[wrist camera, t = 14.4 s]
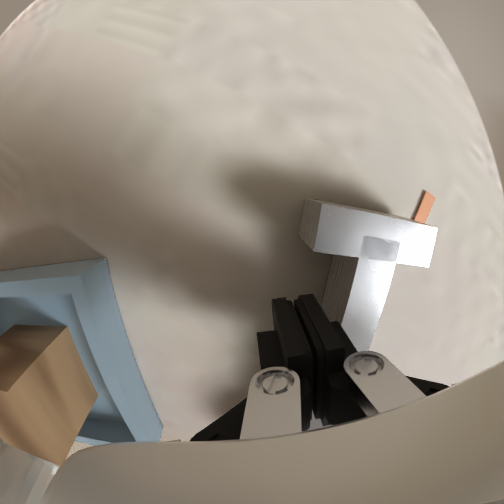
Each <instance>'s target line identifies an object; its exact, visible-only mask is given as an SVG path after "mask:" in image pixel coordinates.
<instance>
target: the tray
mask: <svg viewBox="0 0 504 504" xmlns="http://www.w3.org/2000/svg"><path fill="white" fill-rule="evenodd" d="M14 324H15V325H37V326H68V328H69V331H70V334H71V336H72V339H73V341H74V344H75V346H76V349H77V351H78V353H79V356H80V358H81V360H82V362H83V365H84V367H85V369H86V371H87V373H88V375H89V378H90V380H91V382H92V384H93V386H94V388H95V390H96V392H97V394H98V395H99V396H98V397H97V399H96V401H95V403H94V405H93V407H92V408H91V410H90V412H89V414H88V416H87V418H86V420H85V421H84V423H83V425H82V427H81V429H80V431H79V433H78V435H77V437H76V439H75V441H77V442H81V443H85V444H89V445H94V446H97V445H103V444H109V443H119V442H138V441H159V442H160V438H161V434H162V430H163V425H162V423H161V421H160V419H159V417H158V414H157V412H156V410H155V408H154V405H153V403H152V401H151V398H150V396H149V394H148V391H147V389H146V386H145V384H144V381H143V379H142V376H141V374H140V371H139V368H138V366H137V363H136V360H135V358H134V355H133V352H132V349H131V346H130V343H129V340H128V337H127V334H126V331H125V328H124V325H123V321H122V318H121V315H120V311H119V308H118V304H117V301H116V297H115V293H114V289H113V285H112V281H111V277H110V273H109V269H108V265H107V260H106V258H100V259H92V260H84V261H75V262H67V263H59V264H51V265H43V266H35V267H28V268H20V269H12V270H5V271H0V336H1V335H2V334H3V333H5V332H6V331H7V330H8V329H9V328H11V327H12V326H13V325H14Z"/></svg>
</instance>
